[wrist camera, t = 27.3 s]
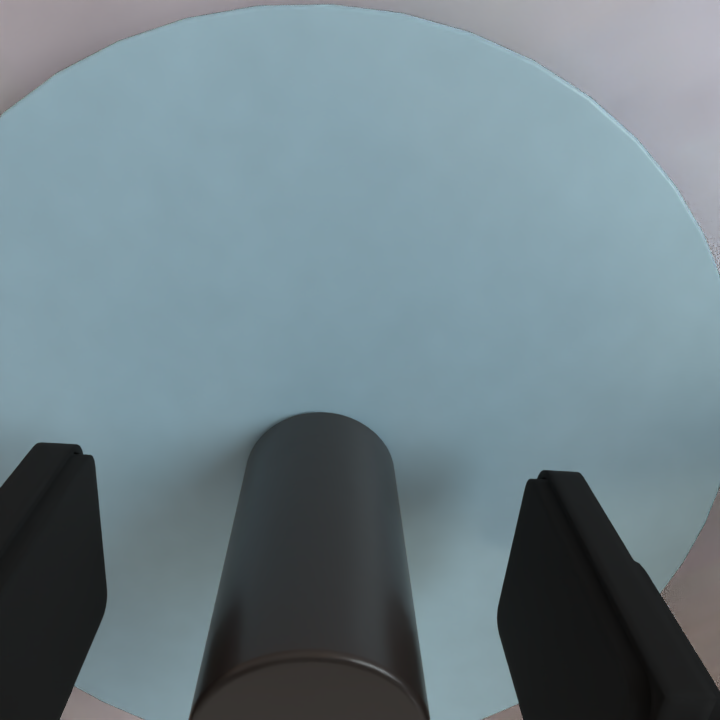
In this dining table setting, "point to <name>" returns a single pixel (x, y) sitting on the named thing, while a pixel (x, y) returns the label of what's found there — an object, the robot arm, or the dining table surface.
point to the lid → (342, 350)
